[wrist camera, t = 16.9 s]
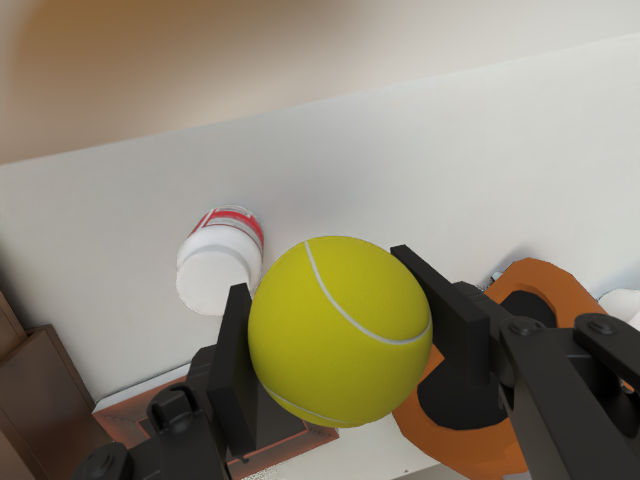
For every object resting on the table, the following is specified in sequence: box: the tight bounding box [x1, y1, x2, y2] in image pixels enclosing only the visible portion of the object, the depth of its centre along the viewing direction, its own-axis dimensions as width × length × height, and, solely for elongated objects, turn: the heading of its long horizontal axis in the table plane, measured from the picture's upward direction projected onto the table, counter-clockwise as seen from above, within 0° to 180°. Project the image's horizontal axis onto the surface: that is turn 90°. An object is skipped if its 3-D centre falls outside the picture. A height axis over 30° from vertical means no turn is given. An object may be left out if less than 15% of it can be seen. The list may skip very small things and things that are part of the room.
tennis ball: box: [248, 236, 433, 428], centre depth 13 cm, size 7×7×7 cm
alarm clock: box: [392, 257, 634, 480], centre depth 32 cm, size 23×9×17 cm, turn 139°
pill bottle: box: [176, 205, 263, 316], centre depth 26 cm, size 6×6×11 cm
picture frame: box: [92, 363, 339, 480], centre depth 37 cm, size 16×2×22 cm
